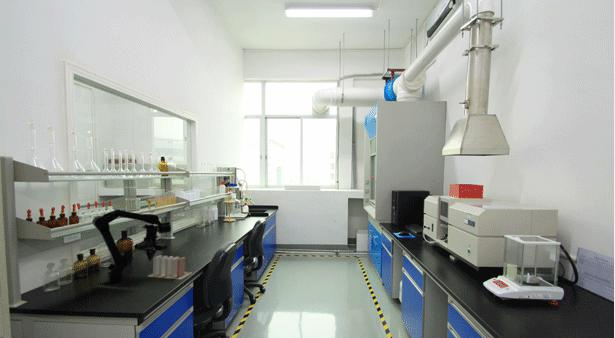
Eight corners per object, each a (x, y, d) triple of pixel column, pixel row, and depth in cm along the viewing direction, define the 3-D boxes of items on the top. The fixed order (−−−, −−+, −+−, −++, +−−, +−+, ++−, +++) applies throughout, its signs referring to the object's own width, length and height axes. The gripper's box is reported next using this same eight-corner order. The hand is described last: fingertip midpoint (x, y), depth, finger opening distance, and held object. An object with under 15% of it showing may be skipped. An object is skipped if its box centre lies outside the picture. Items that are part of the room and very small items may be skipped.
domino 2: (158, 275, 149) (159, 258, 150) (164, 272, 154) (165, 255, 155) (161, 275, 149) (161, 258, 149) (167, 272, 154) (167, 255, 154)
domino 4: (170, 276, 148) (171, 259, 148) (176, 273, 153) (177, 256, 153) (173, 276, 148) (173, 259, 148) (178, 273, 153) (179, 256, 153)
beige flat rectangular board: (146, 278, 147) (147, 276, 147) (160, 271, 158) (160, 269, 158) (180, 281, 144) (180, 279, 144) (192, 274, 155) (192, 272, 155)
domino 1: (152, 274, 150) (153, 257, 150) (158, 271, 155) (159, 255, 155) (155, 274, 150) (155, 257, 150) (161, 271, 155) (161, 255, 155)
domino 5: (176, 276, 147) (177, 259, 148) (182, 273, 152) (183, 257, 153) (179, 276, 147) (180, 259, 148) (184, 273, 152) (185, 257, 153)
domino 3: (164, 275, 149) (165, 258, 149) (170, 272, 154) (171, 256, 154) (167, 275, 148) (167, 258, 149) (172, 272, 153) (173, 256, 154)
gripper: (126, 236, 147) (125, 263, 147) (155, 238, 145) (153, 266, 144) (142, 233, 158) (140, 258, 158) (168, 234, 156) (167, 260, 155)
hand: (150, 260), depth 153 cm, fingers closed
